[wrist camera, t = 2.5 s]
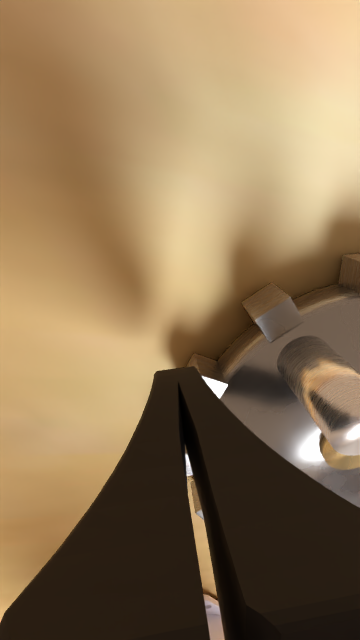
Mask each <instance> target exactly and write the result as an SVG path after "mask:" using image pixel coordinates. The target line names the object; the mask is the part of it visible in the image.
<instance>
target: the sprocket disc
mask: <svg viewBox="0 0 360 640" xmlns="http://www.w3.org/2000/svg"><path fill="white" fill-rule="evenodd" d="M241 303H242V305H243V306H244V308H245V310H246V311H247V313H248V314H249V316H250V317H251V319H252V320H253V322H254V324H253V325H252V326H250V327H249V328H248V329H247V330H246V331H245V332H244V333H243V334H241V335H240V336H239V337H238V338H237V339H236V340H235V341H234V342H233V343H232V344H231V345H230V346H229V348H228V349H227V350H226V351H225V352H224V353H223V354H222V356H221V357H220V358H219V360H218V361H216V360H213V359H210V358H207V357H204V356H202V355H199V354H196V353H193V355H192V357H191V359H190V361H189V362H188V364H187V366H186V367H191V366H194V367H195V368H197V370H198V371H199V373H200V374H201V376H202V377H203V379H204V380H205V381H206V383H207V384H208V385H209V387H210V388H211V389H212V390H213V392H214V393H215V394H216V395H217V396H218V397H219V399H220V400H221V401H222V402H223V403H224V404H225V405H226V406H227V408H228V409H229V410H230V411H231V412H232V413H233V414H234V415H235V416H236V417H237V418H238V419H239V420H240V421H241V422H242V423H243V424H244V425H245V426H246V427H247V428H249V429H250V430H251V431H252V432H253V433H254V434H255V435H256V436H257V437H259V438H260V439H261V440H262V441H263V442H265V443H266V444H267V445H268V446H269V447H271V448H272V449H273V450H274V451H276V452H277V453H278V454H279V455H281V456H282V457H283V458H285V459H286V460H287V461H289V462H290V463H291V464H293V465H294V466H296V467H297V468H299V469H300V470H301V471H303V472H304V473H306V474H307V475H309V476H310V477H312V478H313V479H314V480H316V481H317V482H319V483H320V484H322V485H323V486H325V487H326V488H328V489H329V490H331V491H333V492H334V493H336V494H337V495H339V496H341V497H342V498H344V499H346V500H347V501H349V502H351V503H352V504H354V505H356V506H357V507H359V508H360V253H358V254H349V255H343V257H342V263H341V270H340V276H339V282H338V284H335V285H331V286H328V287H324V288H321V289H318V290H315V291H312V292H309V293H307V294H304V295H302V296H300V297H298V298H295V299H293V300H292V299H291V297H290V296H289V295H287V294H286V293H285V292H284V291H282V290H281V289H280V288H279V287H277V286H276V285H275V284H274V283H272V282H271V283H270V284H268V285H267V286H265V287H264V288H262V289H261V290H259V291H258V292H256V293H255V294H253V295H252V296H250V297H249V298H247V299H246V300H244V301H243V302H241ZM185 454H186V472H187V476H191V475H193V474H192V470H191V466H190V462H189V458H188V454H187V450H186V446H185ZM191 489H192V495H193V501H194V508H195V513H196V514H197V515H198V516H200V517H201V518H202V519H203V520H204V518H203V513H202V509H201V505H200V501H199V497H198V493H197V489H196V485H195V481H193V482H191Z"/></svg>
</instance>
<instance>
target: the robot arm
mask: <svg viewBox="0 0 360 640" xmlns="http://www.w3.org/2000/svg"><path fill="white" fill-rule="evenodd" d="M185 446H186V450H187V454H188V458H189V462H190V466H191V470H192V474H193V478H194V481H195V485H196V489H197V493H198V497H199V501H200V505H201V509H202V513H203V518H204V522H205V527H206V532H207V538H208V544H209V550H210V556H211V561H212V567H213V573H214V579H215V585H216V591H217V597H218V601H217V600H215V599H214V598H212V597H211V596H209V595H205V594H204V595H203V589H202V583H201V576H200V570H199V564H198V557H197V551H196V544H195V538H194V532H193V525H192V519H191V512H190V506H189V499H188V489H187V472H186V454H185ZM0 640H360V508H359V507H357V506H356V505H354V504H352V503H351V502H349V501H347V500H346V499H344V498H342V497H341V496H339V495H337V494H336V493H334V492H333V491H331V490H329V489H328V488H326V487H325V486H323V485H322V484H320V483H319V482H317V481H316V480H314V479H313V478H312V477H310V476H309V475H307V474H306V473H304V472H303V471H301V470H300V469H299V468H297V467H296V466H294V465H293V464H291V463H290V462H289V461H287V460H286V459H285V458H283V457H282V456H281V455H279V454H278V453H277V452H276V451H274V450H273V449H272V448H271V447H269V446H268V445H267V444H266V443H265V442H263V441H262V440H261V439H260V438H259V437H257V436H256V435H255V434H254V433H253V432H252V431H251V430H250V429H249V428H247V427H246V426H245V425H244V424H243V423H242V422H241V421H240V420H239V419H238V418H237V417H236V416H235V415H234V414H233V413H232V412H231V411H230V410H229V409H228V408H227V406H226V405H225V404H224V403H223V402H222V401H221V400H220V399H219V397H218V396H217V395H216V394H215V393H214V392H213V390H212V389H211V388H210V387H209V385H208V384H207V383H206V381H205V380H204V379H203V377H202V376H201V374H200V373H199V371H198V370H197V368H195V367H194V366H191V367H183V368H176V369H169V370H162V371H157V372H156V373H155V374H154V380H153V384H152V388H151V392H150V395H149V398H148V401H147V403H146V406H145V409H144V411H143V414H142V416H141V419H140V421H139V423H138V425H137V427H136V430H135V432H134V434H133V436H132V438H131V440H130V442H129V444H128V446H127V448H126V450H125V452H124V454H123V456H122V457H121V459H120V461H119V463H118V464H117V466H116V468H115V469H114V471H113V473H112V474H111V476H110V477H109V479H108V481H107V482H106V484H105V485H104V487H103V488H102V490H101V492H100V493H99V495H98V496H97V498H96V499H95V501H94V502H93V503H92V505H91V506H90V508H89V509H88V510H87V512H86V513H85V514H84V516H83V517H82V518H81V520H80V521H79V522H78V524H77V525H76V526H75V528H74V529H73V530H72V532H71V533H70V534H69V536H68V537H67V538H66V540H65V541H64V542H63V544H62V545H61V546H60V548H59V549H58V550H57V551H56V553H55V554H54V555H53V556H52V558H51V559H50V560H49V561H48V562H47V563H46V565H45V566H44V567H43V568H42V569H41V571H40V572H39V573H38V574H37V575H36V576H35V578H34V579H33V580H32V581H31V582H30V583H29V585H28V586H27V587H26V588H25V589H24V591H23V592H22V593H21V594H20V595H19V596H18V598H17V599H16V600H15V601H14V602H13V603H12V605H11V606H10V607H9V608H8V609H7V610H6V612H5V613H4V616H3V618H2V620H1V622H0Z"/></svg>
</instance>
